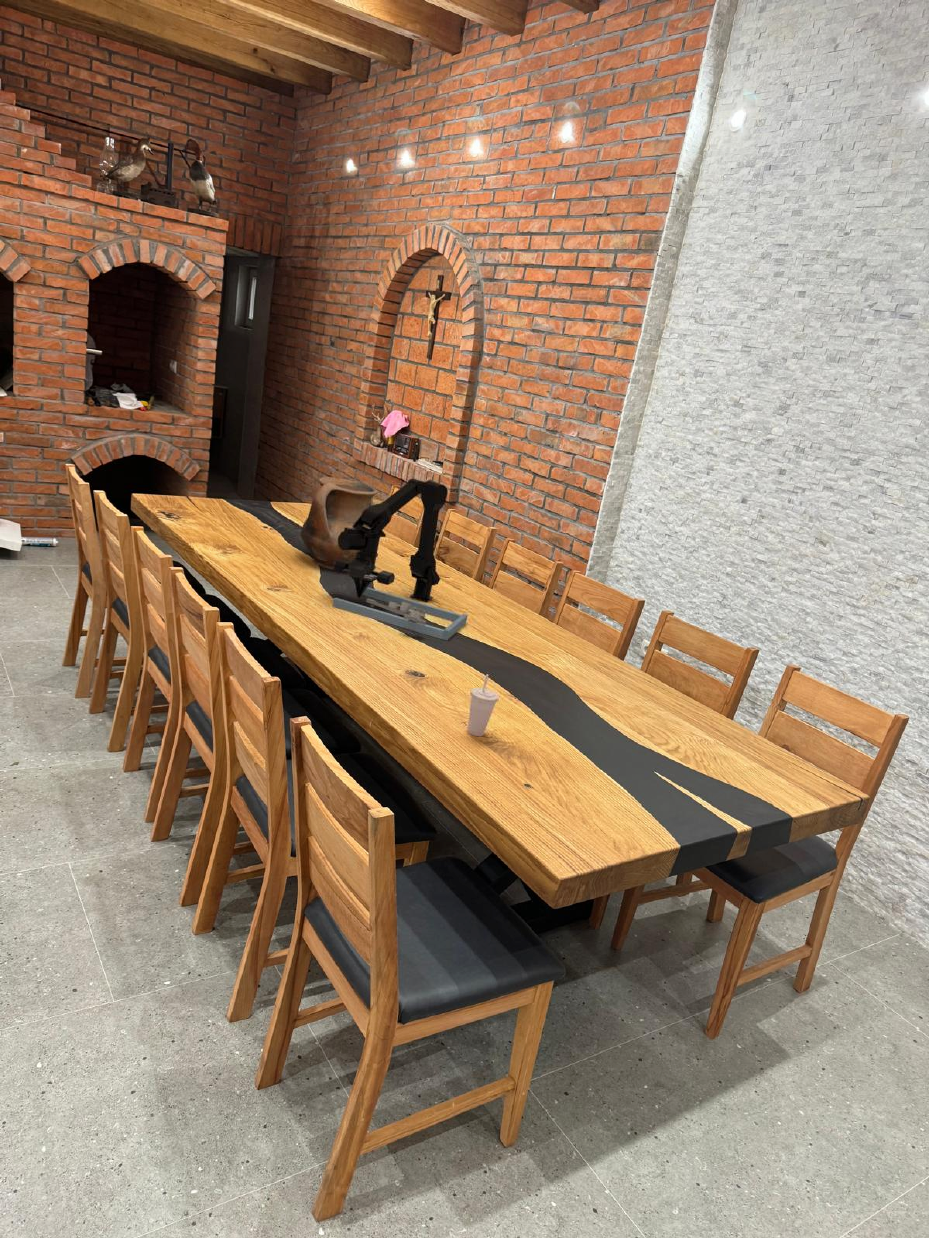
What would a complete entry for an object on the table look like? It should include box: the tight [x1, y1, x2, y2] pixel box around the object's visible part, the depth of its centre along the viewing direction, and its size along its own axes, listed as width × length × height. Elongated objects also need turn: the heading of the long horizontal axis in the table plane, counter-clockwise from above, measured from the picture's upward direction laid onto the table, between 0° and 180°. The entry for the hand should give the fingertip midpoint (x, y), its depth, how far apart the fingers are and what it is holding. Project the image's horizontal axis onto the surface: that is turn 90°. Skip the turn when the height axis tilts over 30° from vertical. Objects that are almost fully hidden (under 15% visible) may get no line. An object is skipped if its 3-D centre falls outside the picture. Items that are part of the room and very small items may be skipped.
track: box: [332, 586, 469, 642], centre depth 254 cm, size 21×37×3 cm, turn 74°
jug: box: [300, 476, 378, 572], centre depth 290 cm, size 32×28×30 cm
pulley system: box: [365, 597, 427, 625], centre depth 247 cm, size 27×5×15 cm
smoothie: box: [467, 673, 500, 737], centre depth 183 cm, size 6×6×14 cm
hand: (359, 597), depth 256 cm, fingers closed
